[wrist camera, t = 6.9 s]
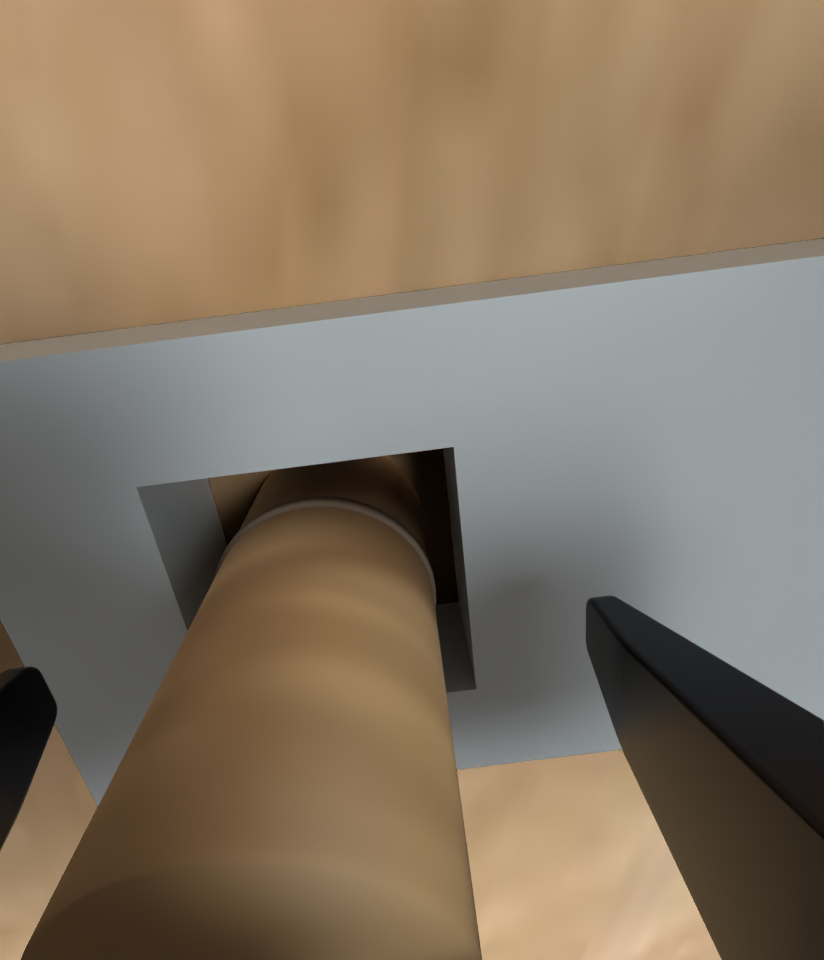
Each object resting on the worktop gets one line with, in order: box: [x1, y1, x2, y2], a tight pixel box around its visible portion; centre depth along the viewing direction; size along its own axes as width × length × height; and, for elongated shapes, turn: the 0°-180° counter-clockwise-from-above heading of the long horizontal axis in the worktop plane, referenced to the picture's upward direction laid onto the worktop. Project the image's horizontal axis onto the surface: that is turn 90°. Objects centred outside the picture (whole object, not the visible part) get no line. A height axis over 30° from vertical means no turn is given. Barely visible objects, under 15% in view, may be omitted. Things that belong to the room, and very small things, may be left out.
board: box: [0, 238, 824, 806], centre depth 12 cm, size 18×10×3 cm, turn 97°
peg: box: [21, 456, 482, 960], centre depth 9 cm, size 4×4×9 cm
